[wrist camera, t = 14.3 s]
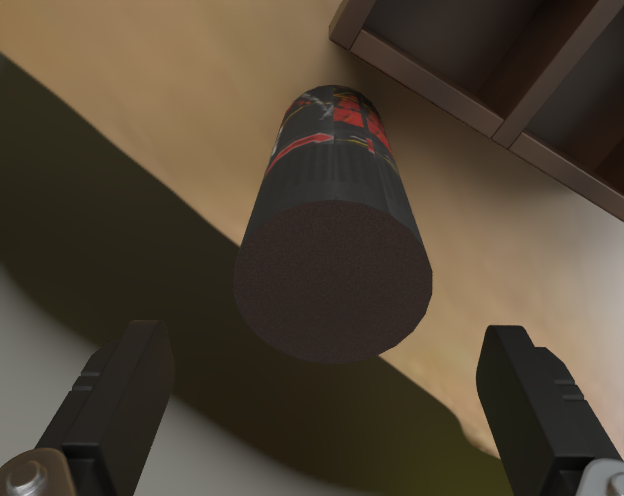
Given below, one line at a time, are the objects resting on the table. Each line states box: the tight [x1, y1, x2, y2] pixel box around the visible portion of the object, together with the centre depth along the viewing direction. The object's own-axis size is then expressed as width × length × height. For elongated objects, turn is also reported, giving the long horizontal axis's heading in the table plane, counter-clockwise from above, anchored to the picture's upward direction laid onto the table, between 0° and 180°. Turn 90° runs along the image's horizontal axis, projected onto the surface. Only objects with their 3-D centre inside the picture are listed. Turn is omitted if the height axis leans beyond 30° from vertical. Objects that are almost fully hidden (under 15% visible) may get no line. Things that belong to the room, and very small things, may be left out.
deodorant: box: [232, 85, 432, 364], centre depth 20 cm, size 6×6×15 cm
